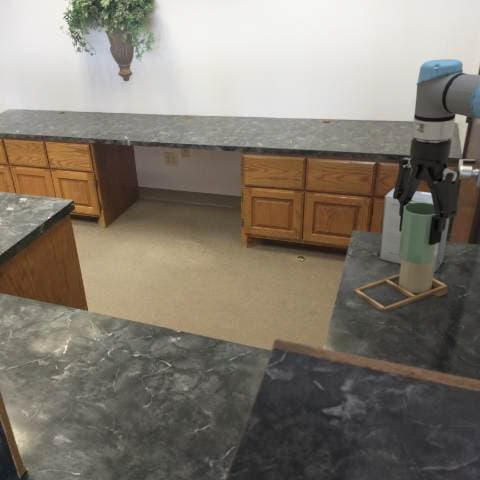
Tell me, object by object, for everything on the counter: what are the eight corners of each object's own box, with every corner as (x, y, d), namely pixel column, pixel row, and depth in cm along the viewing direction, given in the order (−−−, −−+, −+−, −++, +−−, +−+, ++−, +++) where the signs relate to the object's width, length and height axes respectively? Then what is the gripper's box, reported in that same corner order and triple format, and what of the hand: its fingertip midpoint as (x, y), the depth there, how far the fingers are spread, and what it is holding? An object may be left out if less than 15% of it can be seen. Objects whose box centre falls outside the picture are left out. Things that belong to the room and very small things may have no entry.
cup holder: (446, 294, 130) (447, 285, 129) (383, 317, 124) (384, 309, 123) (413, 276, 139) (414, 268, 138) (353, 297, 133) (353, 289, 132)
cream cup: (437, 293, 131) (443, 251, 125) (414, 301, 128) (420, 260, 123) (413, 280, 137) (418, 240, 132) (391, 287, 135) (396, 247, 129)
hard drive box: (443, 261, 144) (454, 196, 135) (435, 273, 139) (446, 206, 130) (387, 248, 153) (394, 186, 145) (377, 259, 149) (384, 195, 140)
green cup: (442, 258, 116) (450, 209, 111) (417, 267, 114) (423, 218, 109) (415, 245, 123) (421, 199, 118) (391, 254, 120) (396, 207, 115)
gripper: (380, 132, 114) (373, 225, 124) (461, 152, 96) (445, 258, 106) (406, 126, 116) (397, 217, 126) (490, 144, 99) (471, 249, 108)
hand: (419, 236), depth 116 cm, fingers closed on green cup, 8 cm apart
